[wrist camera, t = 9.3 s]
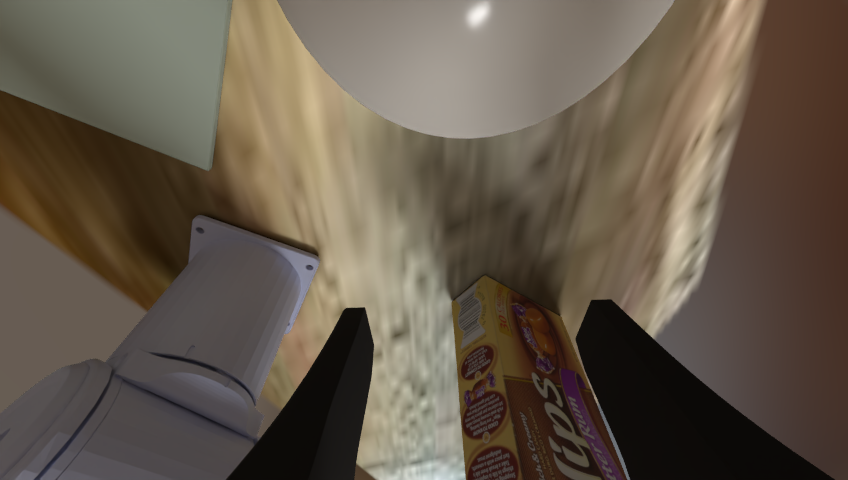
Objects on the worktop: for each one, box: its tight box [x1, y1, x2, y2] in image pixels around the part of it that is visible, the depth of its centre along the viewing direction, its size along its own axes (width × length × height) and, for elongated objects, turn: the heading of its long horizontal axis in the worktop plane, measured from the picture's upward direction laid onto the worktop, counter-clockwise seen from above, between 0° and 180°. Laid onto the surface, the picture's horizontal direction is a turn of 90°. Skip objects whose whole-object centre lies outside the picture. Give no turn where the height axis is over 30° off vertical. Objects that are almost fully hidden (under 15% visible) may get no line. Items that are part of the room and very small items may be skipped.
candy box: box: [452, 275, 627, 480], centre depth 20 cm, size 9×4×15 cm, turn 55°
